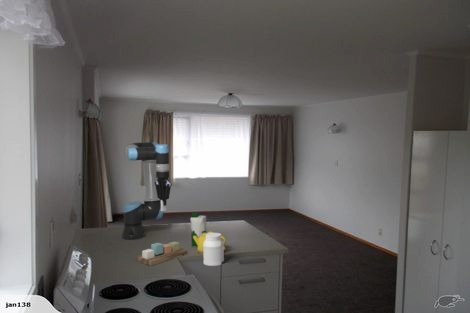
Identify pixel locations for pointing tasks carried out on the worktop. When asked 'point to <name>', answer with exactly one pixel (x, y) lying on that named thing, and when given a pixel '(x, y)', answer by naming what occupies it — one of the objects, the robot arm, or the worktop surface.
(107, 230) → the worktop surface
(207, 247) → the jar
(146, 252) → the key cream
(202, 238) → the teapot
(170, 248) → the key terracotta
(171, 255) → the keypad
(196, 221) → the milk carton
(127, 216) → the robot arm
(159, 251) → the key teal
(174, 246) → the key olive
